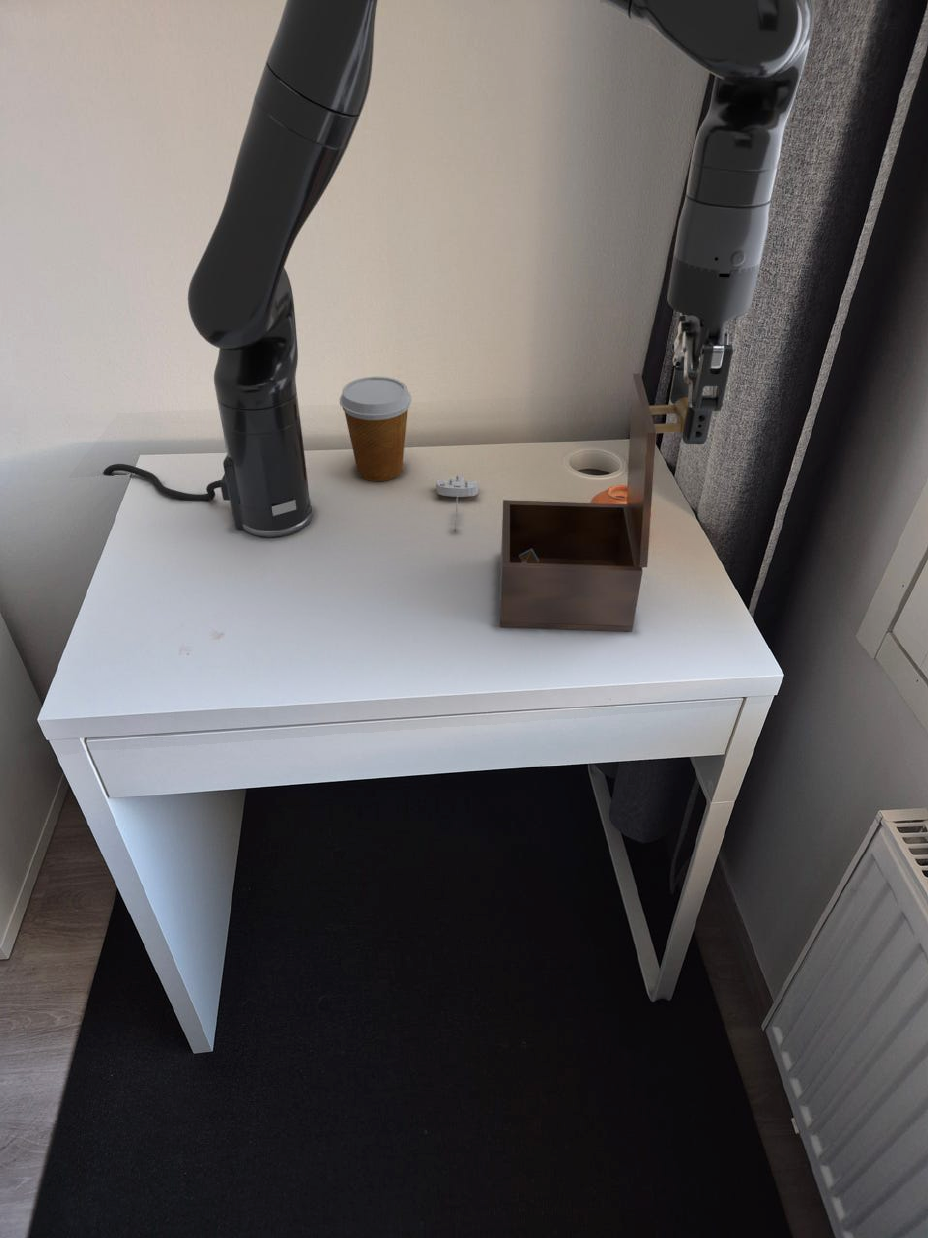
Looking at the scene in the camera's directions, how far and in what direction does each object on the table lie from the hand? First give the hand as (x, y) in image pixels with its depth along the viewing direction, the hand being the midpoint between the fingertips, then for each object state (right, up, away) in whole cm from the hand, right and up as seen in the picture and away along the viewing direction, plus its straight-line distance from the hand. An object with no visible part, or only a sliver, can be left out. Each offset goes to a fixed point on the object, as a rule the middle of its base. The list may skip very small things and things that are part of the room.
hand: (686, 421), depth 86 cm
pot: (-3, -9, +24) cm, 26 cm away
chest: (-11, -17, +14) cm, 24 cm away
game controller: (-23, -5, +29) cm, 37 cm away
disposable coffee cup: (-34, +1, +36) cm, 49 cm away
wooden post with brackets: (-14, -15, +14) cm, 25 cm away
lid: (-4, -4, +4) cm, 7 cm away
